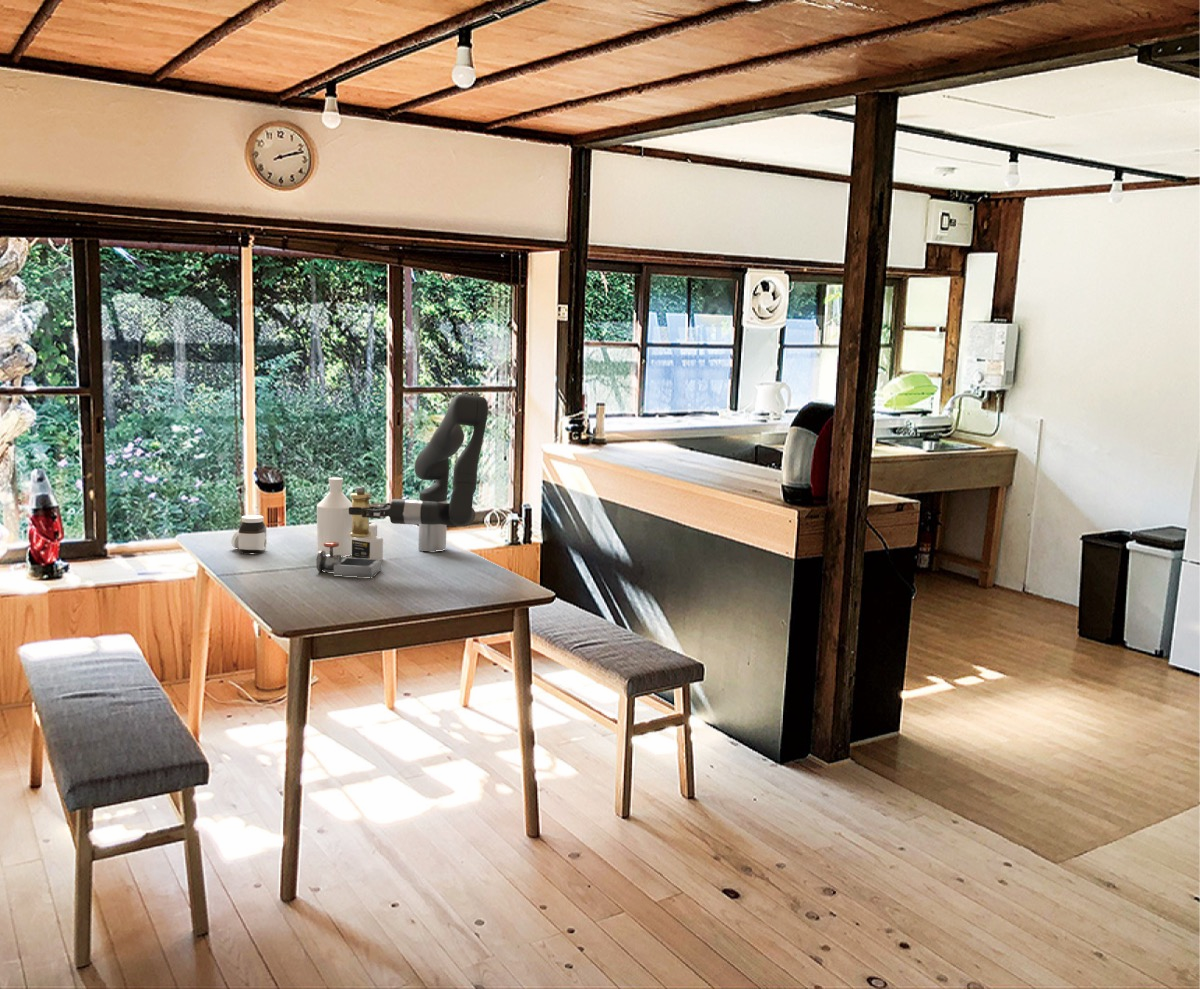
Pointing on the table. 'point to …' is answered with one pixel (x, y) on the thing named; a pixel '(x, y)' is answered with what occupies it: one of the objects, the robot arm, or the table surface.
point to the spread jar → (251, 535)
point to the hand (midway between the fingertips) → (351, 509)
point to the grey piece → (346, 564)
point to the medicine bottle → (368, 545)
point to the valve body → (358, 522)
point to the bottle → (334, 520)
